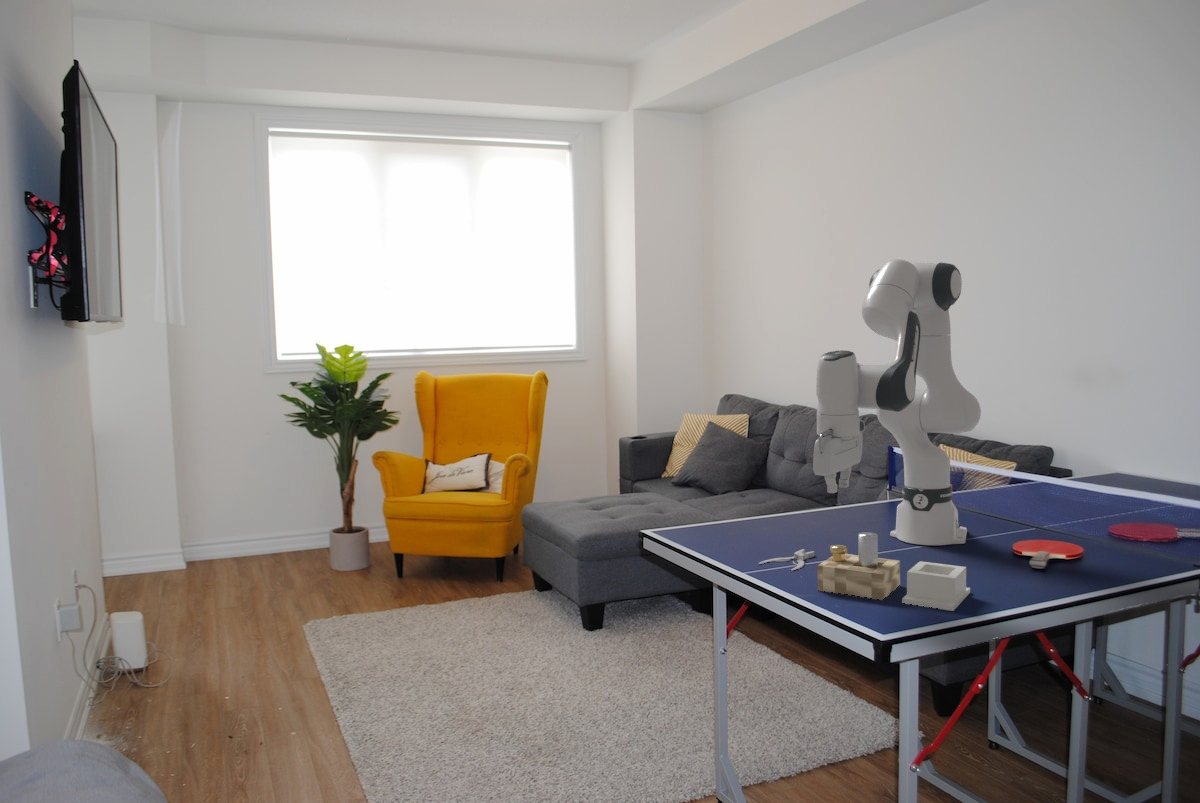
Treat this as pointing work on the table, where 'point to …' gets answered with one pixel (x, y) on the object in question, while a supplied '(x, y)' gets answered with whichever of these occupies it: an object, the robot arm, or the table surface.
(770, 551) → the table surface
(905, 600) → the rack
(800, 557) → the pliers
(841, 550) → the key
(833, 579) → the socket block
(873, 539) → the grey rounded cylinder
